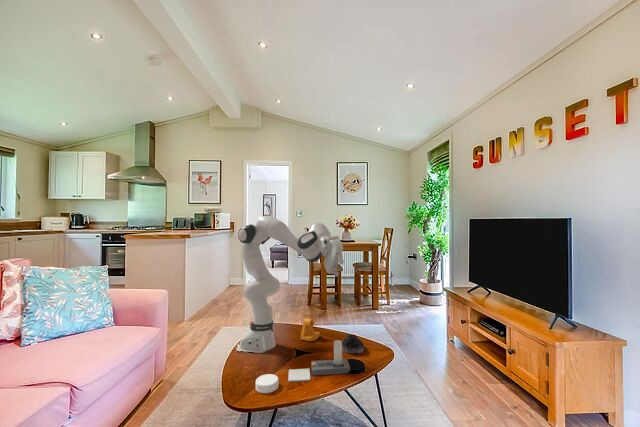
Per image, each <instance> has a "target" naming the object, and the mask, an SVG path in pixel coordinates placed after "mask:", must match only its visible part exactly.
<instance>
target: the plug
mask: <svg viewBox="0 0 640 427" xmlns="http://www.w3.org/2000/svg"><path fill="white" fill-rule="evenodd" d="M342 342H343V340H340V339H339V340H338V339H337V340H336V339H335V340H334V341H333V359H332V360H333V361H332V362H333V365H334V367H337V366H342V365H343V364H344V360H343V359H344V358H343V349H342V348H343V345H342Z"/></svg>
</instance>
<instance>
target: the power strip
mask: <svg viewBox="0 0 640 427" xmlns="http://www.w3.org/2000/svg"><path fill="white" fill-rule="evenodd" d="M342 359H343V360H344V364H343V365H344V366H337V367H334V365H333V362H332V361H333V360H334V359H327V360H326V359H325V360H324V359H322V360H311V361H310V362H311V363H310V364H311V365H310V366H311V375H312V376H323V375H324V376H325V375H341V374H342V375H343V374H344V375H345V374H349V373H348V372H349V371H350V372H351V366H350V364H349V361H348V359H347V358H342Z"/></svg>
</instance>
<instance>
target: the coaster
mask: <svg viewBox="0 0 640 427" xmlns="http://www.w3.org/2000/svg"><path fill="white" fill-rule="evenodd" d="M279 380H280V379H279V377H278V376H277V375H276V374H272V373H267V374H262V375H259V376H258V377H257V378H256V379H255V390H256V391H257V392H258V393H260V394H270V393H272V392H275V391H276V390H277V389H278V388H279V386H280V385H279V383H280V382H279Z"/></svg>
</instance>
